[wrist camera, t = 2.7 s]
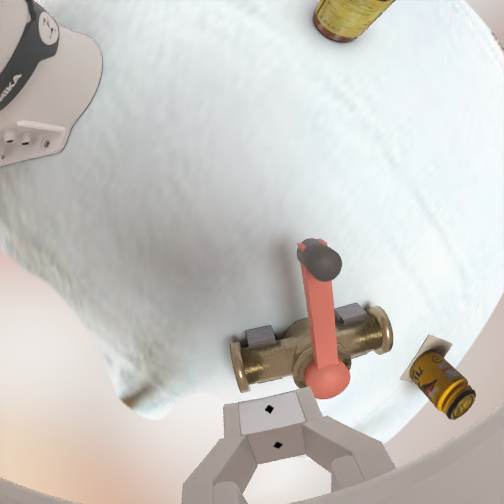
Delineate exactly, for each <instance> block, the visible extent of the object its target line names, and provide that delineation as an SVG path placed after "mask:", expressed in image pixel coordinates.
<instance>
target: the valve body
mask: <svg viewBox="0 0 504 504" xmlns="http://www.w3.org/2000/svg"><path fill="white" fill-rule="evenodd" d="M335 318H336V325H335V326H336V340H337V356H338V357H339V358H341V360H342V361H343V363H344V364H345V366H346V367H347V369H348V370H350V367H351V359H353V358H356V357H359V356H362V355H365V354H367V353H368V352H371V351H375V352H376V353H377V354H379V355H381V354H384V353H387V352H389V351H390V350H391V348H392V346H393V331H392V327H391V323H390V321H389V318H388V316H387V314H386V313H385V311H384V310H383V309H382V308H381V307H379V306H375V307H371V308H368V309H367V310H366V311H365V310H364V309H363V308H362V307H361V306H360V305H359V304H357V303H354V304H351V305H347V306H344V307H340V308H336V309H335ZM246 333H247V339H248V345H249V347H244V348H242V347H241V344H240V342H234V343H230V350H231V357H232V363H233V368H234V372H235V376H236V380H237V384H238V387H239V389H240V392H241V393H244V392H249V391H251V389H250V384H255V383H258V384H259V383H263V382H268V381H273V380H277V379H281V378H283V377H286V376H290V375H292V376H293V379H294V382H295V384H296V385H297V386H298V387H299V388H300V389H301V388H305V387H307V386H306V383H305V381H304V377H303V375H304V370H305V368H306V367H307V365H308V364H309V363H310V362H311V361H312V360H314V359H313V351H312V342H311V334H310V326H309V318H304V319H301V320H299V321H297V322H295V323H294V324H292V325H291V326H290V327H289V329H288V330H287V332H286V334H285V338H284V339H280V340H275V336H274V333H273V330H272V327H271V325H269V326H265V327H260V328H255V329H251V330H246Z"/></svg>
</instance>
